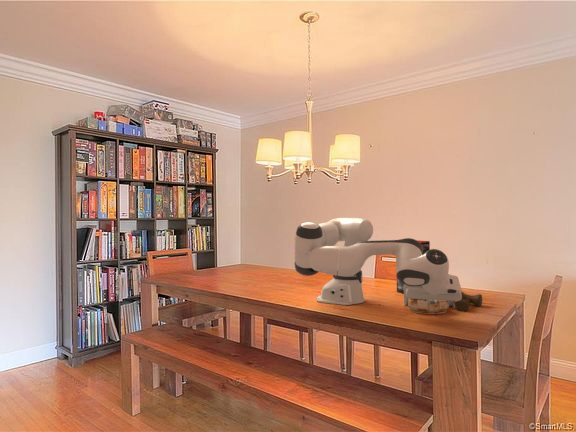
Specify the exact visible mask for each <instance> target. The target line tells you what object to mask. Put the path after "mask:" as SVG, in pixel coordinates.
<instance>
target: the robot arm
mask: <svg viewBox="0 0 576 432" xmlns="http://www.w3.org/2000/svg"><path fill="white" fill-rule="evenodd" d="M296 228H297V229H296V232H295V236H294V260H295V261H294V268H295V271H296V272H297V273H298V274H299V275H302V276H307V277H309V276H310V277H311V276H314V275H316V274H318V273H322V274H326V275H331V276H332V279H331V280H329V281H328V282H326V283H325V284H324V285H323V286H322V289H321V293H320V294H319V295H318V296H317V297H316V302H317V301H318V303H325V304H334V305H343V306H350V305H357V304H361V303H364V302H366V299H365V296H364V290H363V271H362V268H363V266H364V265H365V263H366V261H368V259H369V258H370V257H372V256H385V255H387V256H389V255H392V256H394V257H395V267H396V268H395V273H396V275H395V277H396V280H397V279H398V280H399V281H400V282H402V283H403V284H405V287H406V297H407V298H411V299H426V300H427V301H428V302H429V304H436V303H437V302H438V301H440V300H452V301H460V300H461V299H462V293H461V291H462V287H461V284H460V280H459V277H458V276H457V275H452V274H449V270H450V269H449V267H450V263H449V258H448V256H447V255H446V253H444V252H443V251H442V250H440V249H436V248H431V249H430V250H428V251H427V252H426V253H425V254H423V246H422V244H421V243H419V242H418V241H416V239H415V238H410V237H406V238H400V239H390V240H387V239H386V240H383V239H382V240H370V239H371V238H372V237H373V234H374V225H373V224H372V222H371V221H370V220H369V219H365V218H361V217H337V218H333V219H330V220H329V221H326V222H322V223H321V222H320V223H315V222H310V221H309V222H302V223H301V224H299V225H298V226H297V227H296ZM339 242H344V245H343V246H338V245H337V244H338V243H339Z"/></svg>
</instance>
